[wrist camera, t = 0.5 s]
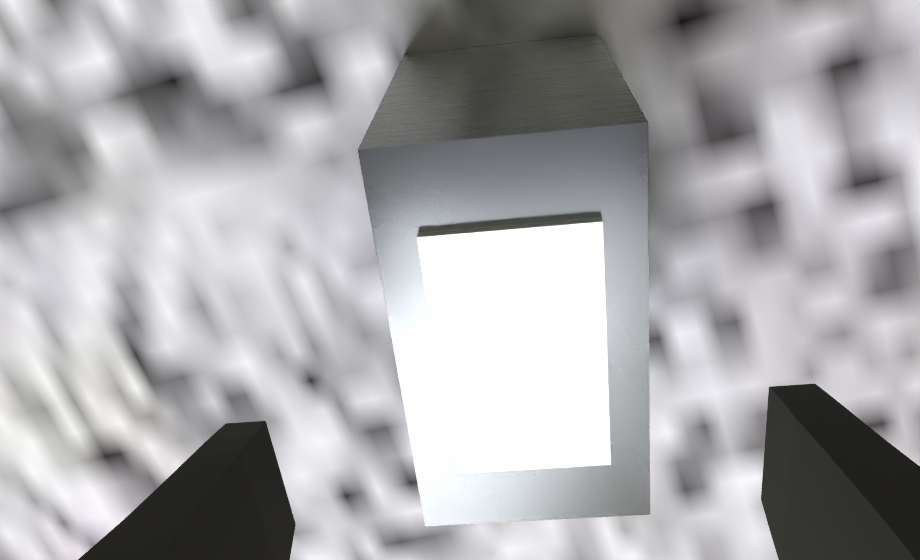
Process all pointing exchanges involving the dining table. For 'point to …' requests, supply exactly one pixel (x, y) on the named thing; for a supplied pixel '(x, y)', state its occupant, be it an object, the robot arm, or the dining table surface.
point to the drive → (516, 278)
